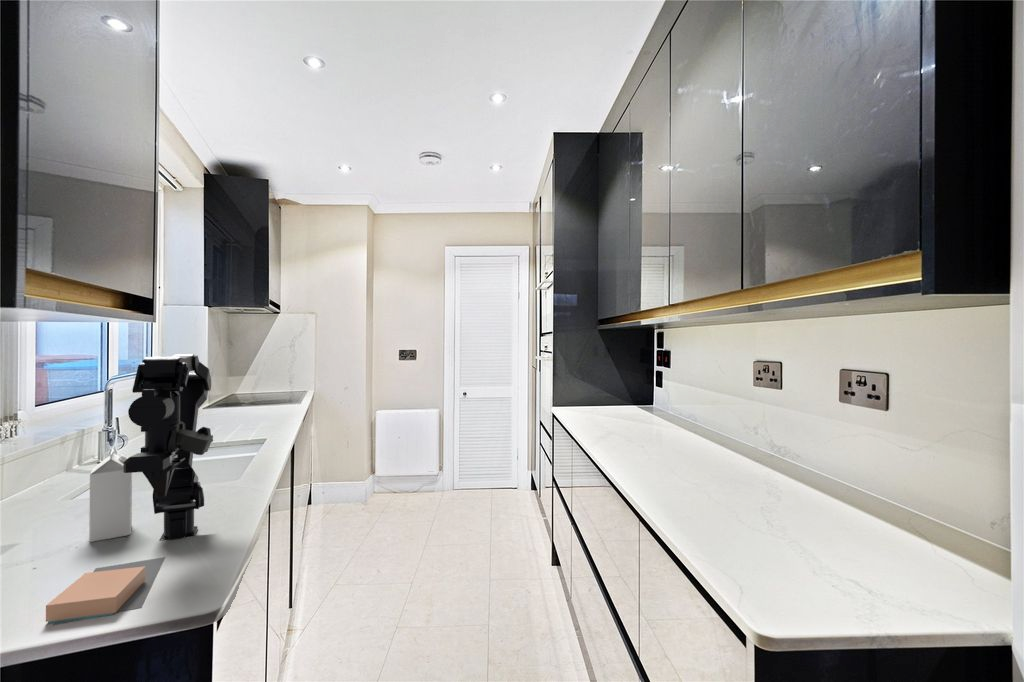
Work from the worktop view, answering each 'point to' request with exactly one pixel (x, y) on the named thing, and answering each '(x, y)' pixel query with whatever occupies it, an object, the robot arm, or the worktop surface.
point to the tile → (95, 594)
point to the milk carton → (110, 499)
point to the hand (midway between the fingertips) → (162, 496)
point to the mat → (141, 593)
